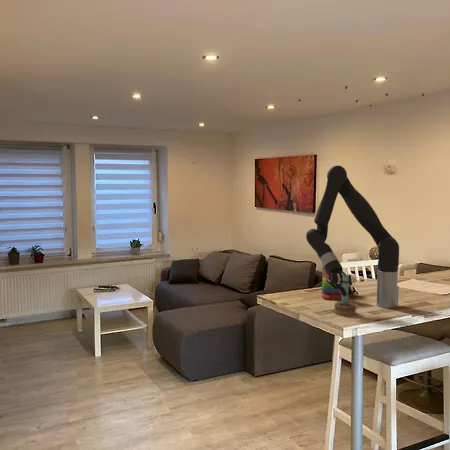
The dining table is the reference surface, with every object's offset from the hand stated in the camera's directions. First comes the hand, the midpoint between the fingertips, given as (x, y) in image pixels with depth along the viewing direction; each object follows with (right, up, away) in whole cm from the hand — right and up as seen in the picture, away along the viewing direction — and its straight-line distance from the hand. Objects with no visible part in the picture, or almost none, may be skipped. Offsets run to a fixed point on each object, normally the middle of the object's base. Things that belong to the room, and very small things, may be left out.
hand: (348, 294), depth 213 cm
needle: (-1, -7, +3) cm, 8 cm away
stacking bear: (0, -6, +32) cm, 33 cm away
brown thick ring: (-1, -9, +3) cm, 9 cm away
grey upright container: (+2, -5, +43) cm, 44 cm away
